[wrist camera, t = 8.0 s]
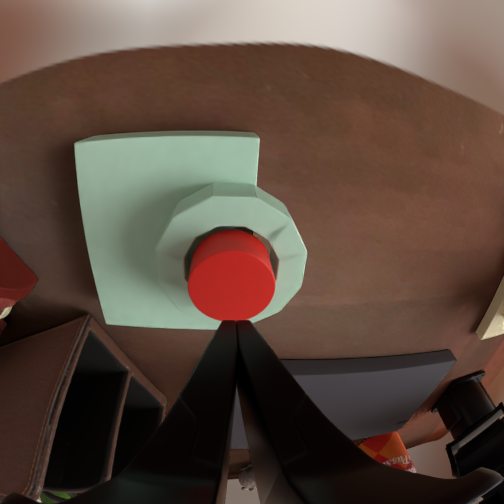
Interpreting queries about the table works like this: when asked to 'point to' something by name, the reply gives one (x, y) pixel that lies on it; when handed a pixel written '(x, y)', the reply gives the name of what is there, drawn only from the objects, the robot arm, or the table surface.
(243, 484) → the seashell
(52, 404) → the letter holder
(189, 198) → the control box
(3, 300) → the teeth
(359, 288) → the table surface
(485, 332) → the bracket
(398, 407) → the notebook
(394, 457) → the coffee cup
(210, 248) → the button
